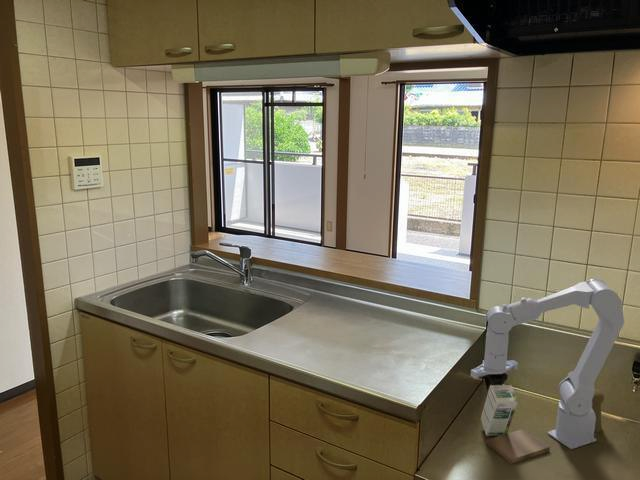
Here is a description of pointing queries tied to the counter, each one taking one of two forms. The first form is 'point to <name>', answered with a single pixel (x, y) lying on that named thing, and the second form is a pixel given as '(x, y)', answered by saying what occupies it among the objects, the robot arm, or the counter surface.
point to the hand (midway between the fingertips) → (492, 396)
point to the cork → (597, 408)
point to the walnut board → (517, 445)
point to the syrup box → (498, 410)
